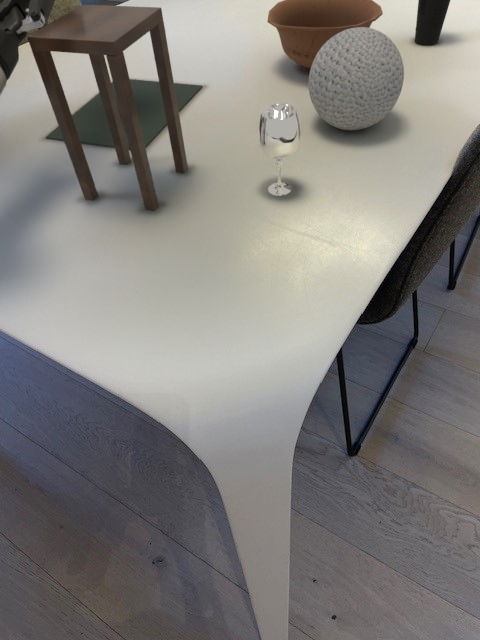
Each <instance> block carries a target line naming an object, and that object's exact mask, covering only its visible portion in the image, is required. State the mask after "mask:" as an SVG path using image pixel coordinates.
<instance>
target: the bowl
mask: <svg viewBox="0 0 480 640" xmlns="http://www.w3.org/2000/svg"><path fill="white" fill-rule="evenodd" d="M383 13H384V12H383V9H382V7H381V5H379V4H378V3H376V1H374V0H281V1H279V2H277V3H276V4H275V5H273V6H272V8H271V9H269V10H268V13H267V23H268V24H270V25H271V26H272V27H274V28H275V29H276V30H277V33H278V36H279V39H280V44H281V46H282V49H283V53H284V54H285V55H286V56H287V57H288V58H289V59H290V60H292V61H293V62H294V63H295V64H297V65H299V69H300V71H301V72H302V73H304V74H307V75H309V74H310V70H311V66H312V63H313V61H314V59H315V57H316V55H317V53H318V51H319V50H320V49H321V47H322V46H323V45H324V44H325V43H326V42H327V41H328V40H329V39H330V38H332V37H333V36H335V35H336V34H338V33H340V32H342V31H344V30H347V29H350V28H355V27H367V28H371V25H372V24H373V22H376V21H377V20H378V19H379V18H380V17H381V16H383Z"/></svg>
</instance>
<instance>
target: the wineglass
mask: <svg viewBox="0 0 480 640" xmlns="http://www.w3.org/2000/svg"><path fill="white" fill-rule="evenodd" d="M300 141H301V127H300V121H299V116H298V112H297V109H296V107H295V106H293V105H291V104H288V103H273V104H269V105H266V106H264V107H263V108H262V109H261V111H260V116H259V120H258V126H257V142H258V146H259V149H260V151H261V152H262V153H263V154H264V155H265V156H267V157H268V158H271V159H275V165H276V170H277V182H274V183H272V184H271V185H269V186H268V188H267V191H268V193H269V194H270V195H273V196H277V197H278V196H279V197H281V196H285V195H288V194H290V193H291V192H292V186H291V185H290V184H289V183H287V182H282V168H283V164H284V161H283V159H285V158H288V157H290V156H292V155H294V154H295V152H296V151H297V149H298V148H299V145H300Z"/></svg>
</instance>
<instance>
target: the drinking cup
mask: <svg viewBox="0 0 480 640" xmlns="http://www.w3.org/2000/svg"><path fill="white" fill-rule="evenodd" d="M450 4H451V0H418V3H417V12H416V22H415V23H416V24H415V33H414V34H415V35H414V43H415V44H416V45H417V46H421V47H422V46H424V47H431V46H435V45H437V44H438V43H439V40H440V36H441V33H442V30H443V27H444V23H445V20H446V17H447V14H448V9H449V5H450Z"/></svg>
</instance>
